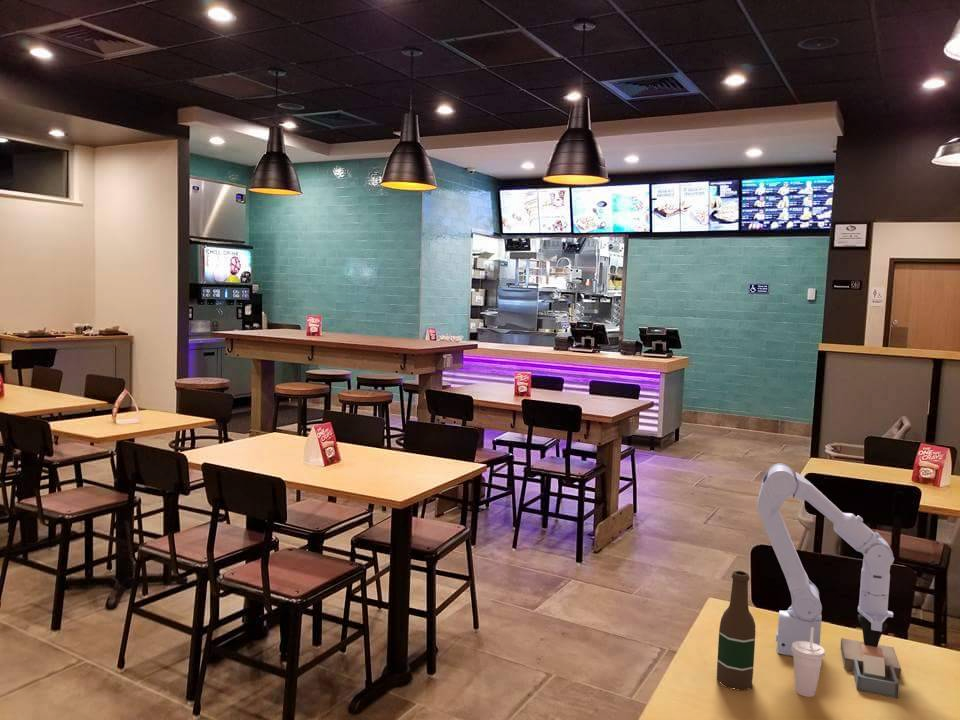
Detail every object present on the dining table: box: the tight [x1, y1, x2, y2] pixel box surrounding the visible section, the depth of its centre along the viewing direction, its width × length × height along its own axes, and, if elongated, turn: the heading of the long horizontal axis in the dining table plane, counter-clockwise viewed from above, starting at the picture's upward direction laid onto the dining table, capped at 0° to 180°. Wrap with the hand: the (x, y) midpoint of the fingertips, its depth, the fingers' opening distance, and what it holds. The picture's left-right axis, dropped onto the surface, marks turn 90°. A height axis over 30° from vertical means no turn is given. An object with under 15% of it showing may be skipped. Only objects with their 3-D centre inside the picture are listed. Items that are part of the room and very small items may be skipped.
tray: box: [852, 658, 900, 699], centre depth 157 cm, size 8×9×3 cm
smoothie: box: [791, 627, 826, 698], centre depth 152 cm, size 6×6×14 cm
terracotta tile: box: [861, 644, 884, 660], centre depth 163 cm, size 4×4×2 cm
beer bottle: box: [716, 570, 756, 691], centre depth 155 cm, size 8×8×24 cm
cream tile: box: [863, 655, 885, 680], centre depth 159 cm, size 4×4×2 cm
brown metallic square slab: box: [840, 637, 902, 680], centre depth 166 cm, size 11×11×2 cm
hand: (870, 649), depth 166 cm, fingers closed
